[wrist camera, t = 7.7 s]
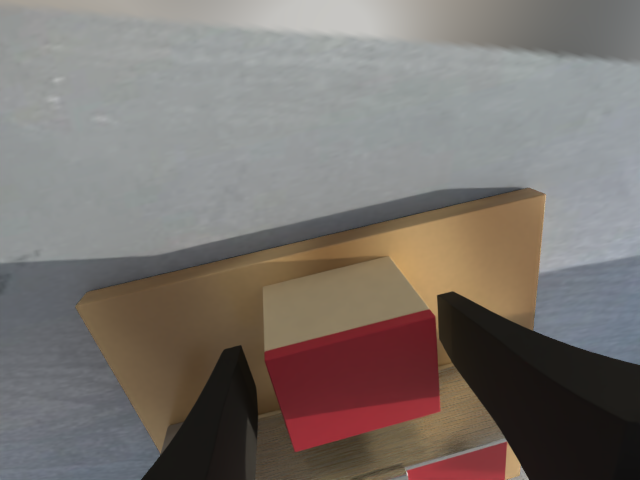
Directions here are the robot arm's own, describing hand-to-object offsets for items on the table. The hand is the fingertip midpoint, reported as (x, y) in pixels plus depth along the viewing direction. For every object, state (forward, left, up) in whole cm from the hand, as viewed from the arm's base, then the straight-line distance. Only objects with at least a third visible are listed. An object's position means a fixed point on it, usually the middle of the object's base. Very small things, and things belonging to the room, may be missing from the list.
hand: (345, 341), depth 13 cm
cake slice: (0, 0, -2) cm, 2 cm away
